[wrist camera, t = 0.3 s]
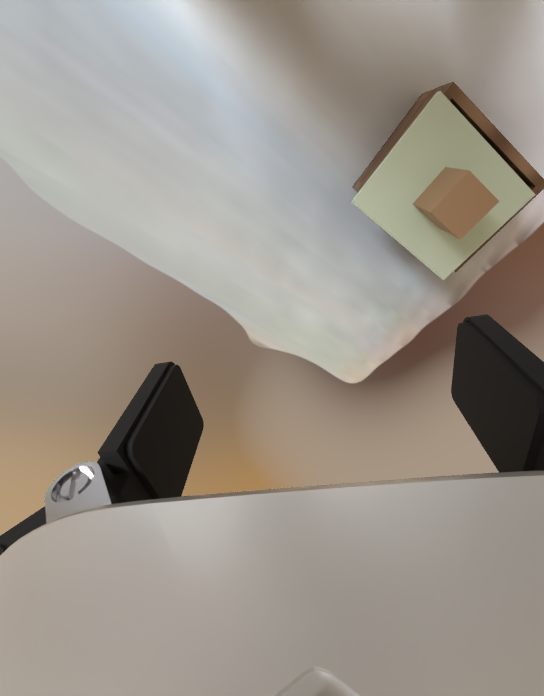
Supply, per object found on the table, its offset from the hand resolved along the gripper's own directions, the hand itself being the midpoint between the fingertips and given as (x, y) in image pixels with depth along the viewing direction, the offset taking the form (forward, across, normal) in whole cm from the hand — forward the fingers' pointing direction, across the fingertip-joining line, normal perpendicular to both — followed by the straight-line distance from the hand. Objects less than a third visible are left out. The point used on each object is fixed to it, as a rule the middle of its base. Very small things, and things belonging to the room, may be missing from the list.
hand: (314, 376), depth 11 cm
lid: (+28, -14, 0) cm, 31 cm away
